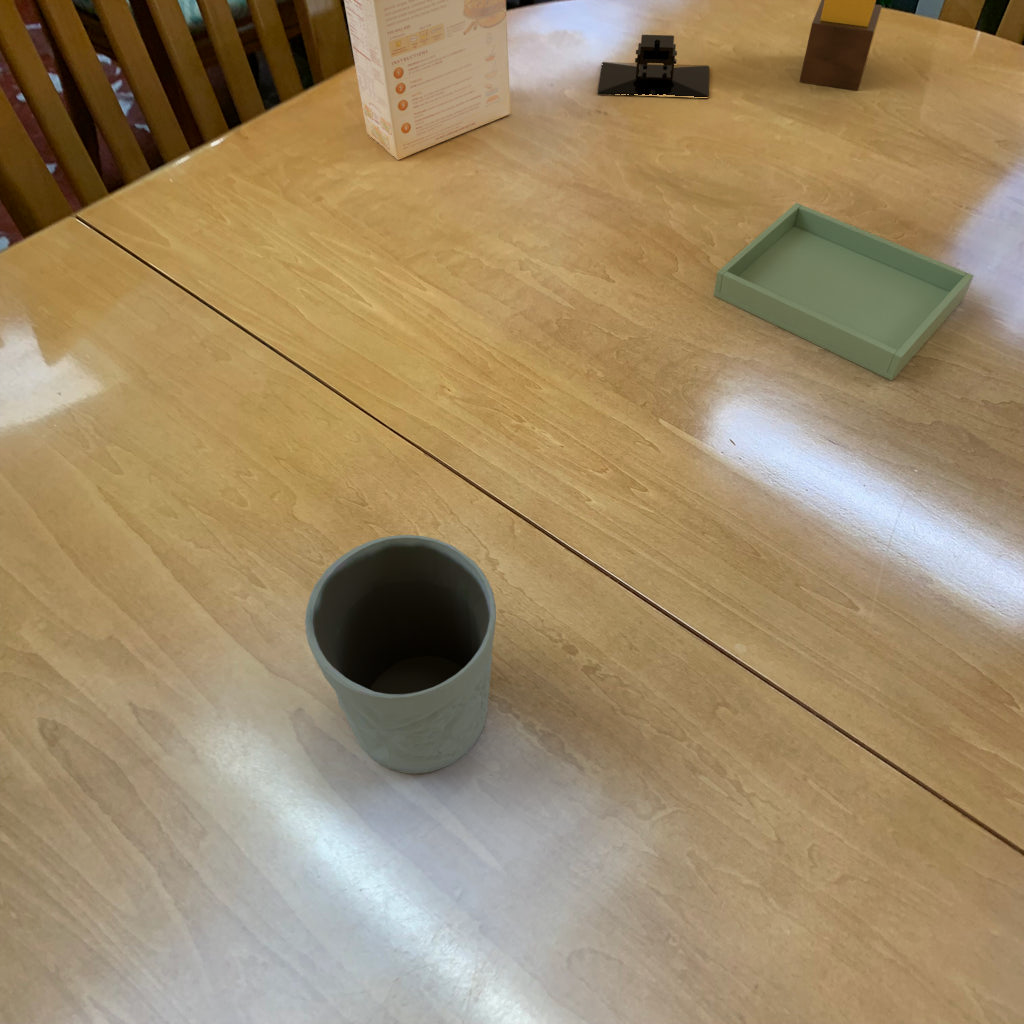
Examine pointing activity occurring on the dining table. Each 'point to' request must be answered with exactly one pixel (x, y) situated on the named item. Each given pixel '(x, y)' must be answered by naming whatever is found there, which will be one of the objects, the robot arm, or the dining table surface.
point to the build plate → (654, 72)
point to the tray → (843, 289)
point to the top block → (848, 11)
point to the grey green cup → (406, 648)
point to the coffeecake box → (429, 68)
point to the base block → (838, 52)
